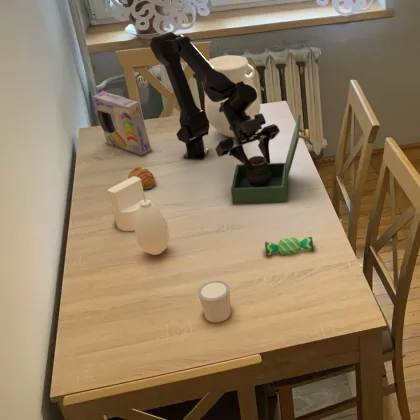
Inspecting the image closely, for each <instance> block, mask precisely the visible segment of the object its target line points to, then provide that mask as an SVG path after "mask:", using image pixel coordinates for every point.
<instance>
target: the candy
mask: <svg viewBox="0 0 420 420" xmlns="http://www.w3.org/2000/svg"><path fill="white" fill-rule="evenodd" d="M264 249H265V255H266V257H268V256H272V255H274V254H276V253H277V252H279V253H280V254H281V255H282V256H284V255H285V256H286V255H294V254H298V253H299V252H300V250H301V249H305V250H308V251H314V240H313V236H308V237H304V238H303V239H302V240H299V239H298V238H297V237H295V236H293V237H286V238H280V240H279V241H278V243H273V242H271V241H264Z"/></svg>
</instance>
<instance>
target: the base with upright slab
mask: <svg viewBox="0 0 420 420" xmlns="http://www.w3.org/2000/svg"><path fill="white" fill-rule="evenodd" d="M107 192H108V193H107V194H108V196H109V200H110V204H111V209H112V214H113V216H114V220H115V224H116V227H117V229H119V230H120V231H123V232H132V231H133V232H135V218H136V214H137V211H138V209H139V207H140V202H141V201H143V200H144V198H143V193H144V194H145V192H144V189H143V186H142V182H141V179H140V178H138V177H135V176H133V177H131V178H129V179H128V178H127V179H125V180H124V181H122V182H119V183H117V184H116V185H114V186H112V187H110V188H108V189H107Z"/></svg>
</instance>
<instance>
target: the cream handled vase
mask: <svg viewBox="0 0 420 420" xmlns="http://www.w3.org/2000/svg"><path fill="white" fill-rule="evenodd" d="M207 62H208V63H209V64H210V65H211V66H212V67H213V69H215V70H216V71H218V72H220V73H223V74H224V75H225V76H226V77H228V78H229V79H230V80H231V81H232V82H234V83H235V84H237V83H238V82H241V81H243V82H244V84H247V85H250V86H252V87H253V88H254V89H255V90H256V92H257V99H256V100H255V101H254V102H253V103H252V105H251V106H250V107H249V108H248V109H247V110H246V111H245V112H246V114H247V116H248V115H249V116H250V117H251V119H255V115H257V114H260V113H261V99H260V96H259V92H258V89H257V88H256V86H255V83H254V78H255V75H256V70H255V69H254V67H253V66H252V65H251V64H249V60H248V59H247V58H246V57H244V56H242V55H233V54H231V55H229V54H228V55H227V54H226V55H220V56H216V57H213V58H211V59H209V60H207ZM249 70H250V74H247V71H249ZM227 99H228V98H227ZM227 99H225V100H222V101H219V102H213V101H211V100H210V99H209V98H208V96H207V94H206V93H205V96H204V111H205V112H206V116H207V118H208V120H209V125H210V126H212V128H214V129H215V130H216V131H217V132H218V133H220V134H222V135H223V136H224V137H227V138H236V137H235V135H234V133H233V131H232V130H231V131H230V129H229V127H230V125H229V123H228V120H227V118H226V116H225V114H224V112H219V108H220V103H222V102H225V101H226V100H227Z"/></svg>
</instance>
